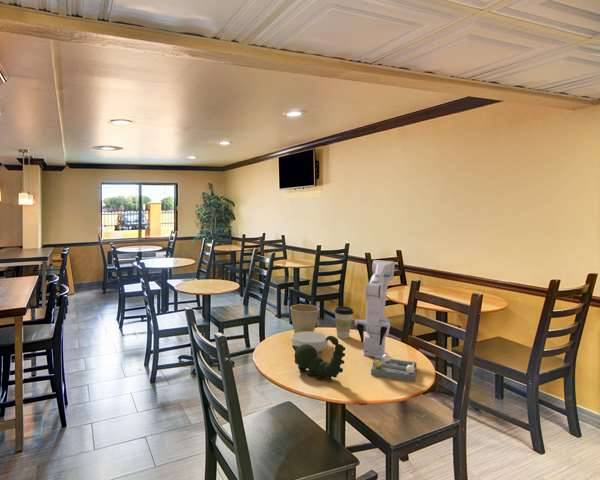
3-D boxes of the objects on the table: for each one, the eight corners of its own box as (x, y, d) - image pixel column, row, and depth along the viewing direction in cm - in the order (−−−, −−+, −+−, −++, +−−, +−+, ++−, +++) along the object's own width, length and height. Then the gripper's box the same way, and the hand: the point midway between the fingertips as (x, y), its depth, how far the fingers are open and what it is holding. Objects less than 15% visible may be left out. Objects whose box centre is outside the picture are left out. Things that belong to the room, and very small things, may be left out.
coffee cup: (332, 338, 202) (333, 310, 201) (334, 333, 212) (335, 305, 211) (352, 340, 201) (353, 311, 200) (352, 334, 210) (353, 307, 209)
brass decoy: (373, 368, 159) (374, 361, 159) (374, 365, 162) (375, 358, 162) (381, 370, 158) (382, 362, 158) (382, 367, 161) (383, 359, 161)
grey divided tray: (370, 375, 159) (371, 365, 159) (375, 362, 172) (376, 353, 172) (414, 382, 154) (415, 372, 153) (416, 368, 167) (416, 359, 167)
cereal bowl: (329, 346, 191) (329, 332, 190) (325, 359, 174) (326, 343, 174) (294, 343, 194) (295, 329, 193) (287, 355, 177) (288, 340, 177)
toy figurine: (345, 384, 154) (297, 361, 170) (351, 338, 151) (302, 319, 167) (331, 392, 147) (282, 367, 163) (337, 344, 144) (287, 323, 160)
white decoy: (405, 373, 155) (406, 365, 155) (406, 370, 158) (406, 363, 158) (414, 375, 154) (414, 367, 154) (414, 372, 157) (414, 364, 157)
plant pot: (293, 344, 192) (295, 312, 191) (286, 334, 207) (287, 304, 205) (322, 342, 197) (323, 310, 196) (312, 333, 211) (314, 303, 210)
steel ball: (380, 364, 164) (381, 355, 163) (381, 361, 167) (382, 352, 167) (390, 366, 162) (390, 356, 162) (391, 362, 166) (391, 353, 166)
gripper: (353, 311, 164) (352, 343, 165) (389, 315, 159) (387, 348, 160) (357, 308, 170) (355, 338, 171) (391, 311, 166) (389, 343, 167)
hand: (371, 343), depth 166 cm, fingers open, 7 cm apart
